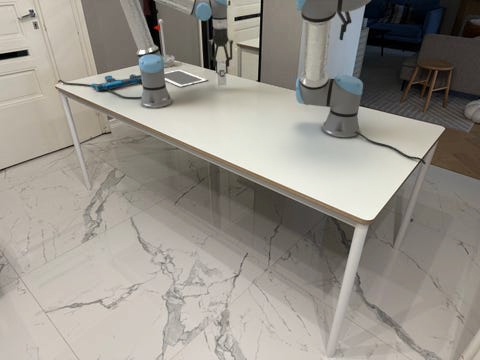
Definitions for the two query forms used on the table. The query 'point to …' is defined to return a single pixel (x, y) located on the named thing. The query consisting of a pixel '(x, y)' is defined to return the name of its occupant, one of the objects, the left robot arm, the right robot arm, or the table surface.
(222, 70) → the ink box
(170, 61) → the flag stand
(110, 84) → the submachine gun
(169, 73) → the tablet
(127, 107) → the table surface
